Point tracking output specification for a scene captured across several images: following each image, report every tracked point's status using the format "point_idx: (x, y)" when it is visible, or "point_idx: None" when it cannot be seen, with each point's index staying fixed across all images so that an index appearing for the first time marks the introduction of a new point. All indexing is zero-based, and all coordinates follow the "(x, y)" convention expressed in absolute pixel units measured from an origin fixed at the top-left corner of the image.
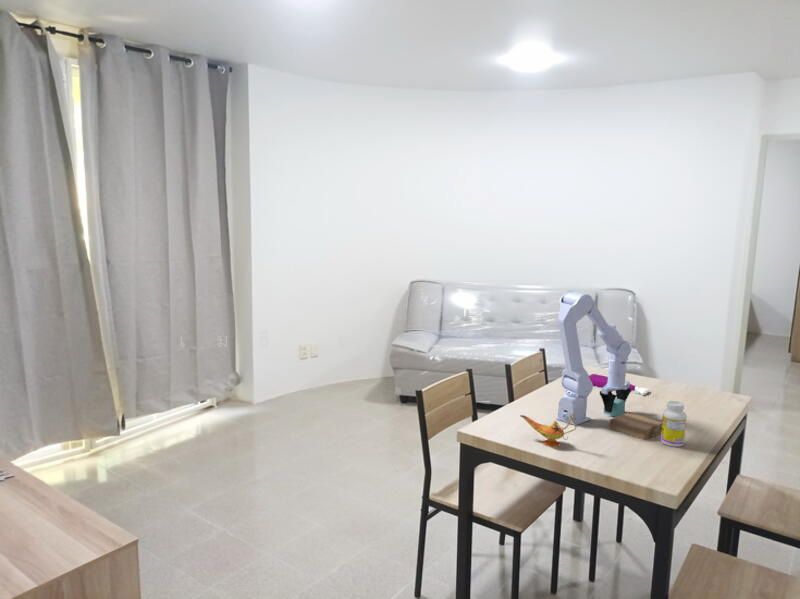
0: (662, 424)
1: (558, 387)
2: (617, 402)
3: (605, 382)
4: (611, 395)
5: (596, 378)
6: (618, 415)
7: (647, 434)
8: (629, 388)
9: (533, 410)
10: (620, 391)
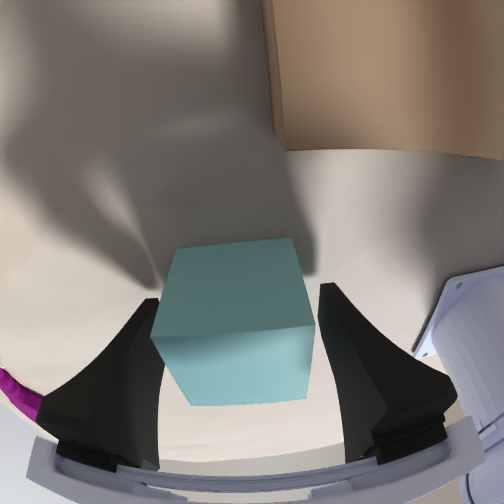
0: None
1: (200, 454)
2: (277, 343)
3: None
4: (443, 407)
5: None
6: (264, 244)
7: None
8: (4, 376)
9: None
10: (136, 436)
